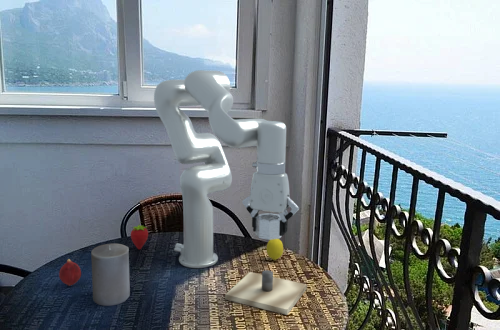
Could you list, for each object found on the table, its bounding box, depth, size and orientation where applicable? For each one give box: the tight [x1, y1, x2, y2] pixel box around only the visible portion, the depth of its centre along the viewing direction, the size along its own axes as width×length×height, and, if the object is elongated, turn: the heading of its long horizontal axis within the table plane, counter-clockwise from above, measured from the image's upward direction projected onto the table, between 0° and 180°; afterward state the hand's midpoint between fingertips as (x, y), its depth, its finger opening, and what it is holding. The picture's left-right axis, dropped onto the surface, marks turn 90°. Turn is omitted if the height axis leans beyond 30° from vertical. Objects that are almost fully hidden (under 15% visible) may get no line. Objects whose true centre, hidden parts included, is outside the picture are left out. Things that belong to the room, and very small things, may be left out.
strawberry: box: [130, 223, 149, 250], centre depth 158 cm, size 6×8×10 cm
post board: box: [224, 269, 308, 316], centre depth 128 cm, size 18×16×6 cm
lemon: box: [266, 238, 284, 261], centre depth 151 cm, size 6×6×8 cm
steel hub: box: [254, 212, 283, 241], centre depth 124 cm, size 7×7×5 cm
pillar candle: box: [90, 243, 131, 307], centre depth 123 cm, size 10×10×15 cm
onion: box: [58, 258, 82, 287], centre depth 130 cm, size 6×6×8 cm
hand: (269, 231), depth 125 cm, fingers closed on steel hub, 7 cm apart
